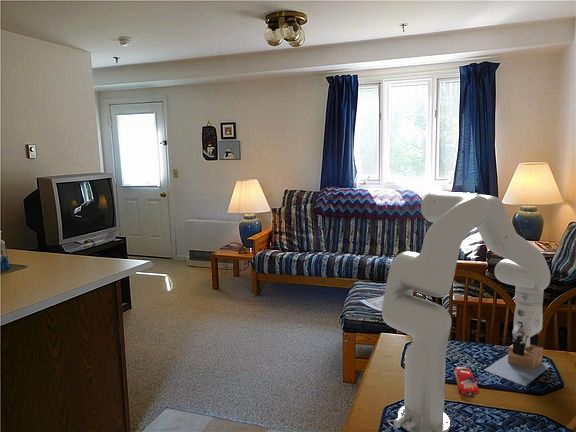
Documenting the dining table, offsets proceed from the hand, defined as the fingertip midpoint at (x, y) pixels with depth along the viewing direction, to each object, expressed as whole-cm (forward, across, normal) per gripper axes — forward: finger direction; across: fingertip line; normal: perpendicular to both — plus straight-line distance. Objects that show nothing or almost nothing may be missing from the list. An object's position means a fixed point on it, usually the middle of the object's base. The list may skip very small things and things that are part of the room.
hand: (525, 349), depth 134 cm
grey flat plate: (+6, -5, 0) cm, 7 cm away
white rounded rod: (+4, 0, 0) cm, 4 cm away
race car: (+6, -24, +6) cm, 26 cm away
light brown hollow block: (+4, 0, 0) cm, 4 cm away
